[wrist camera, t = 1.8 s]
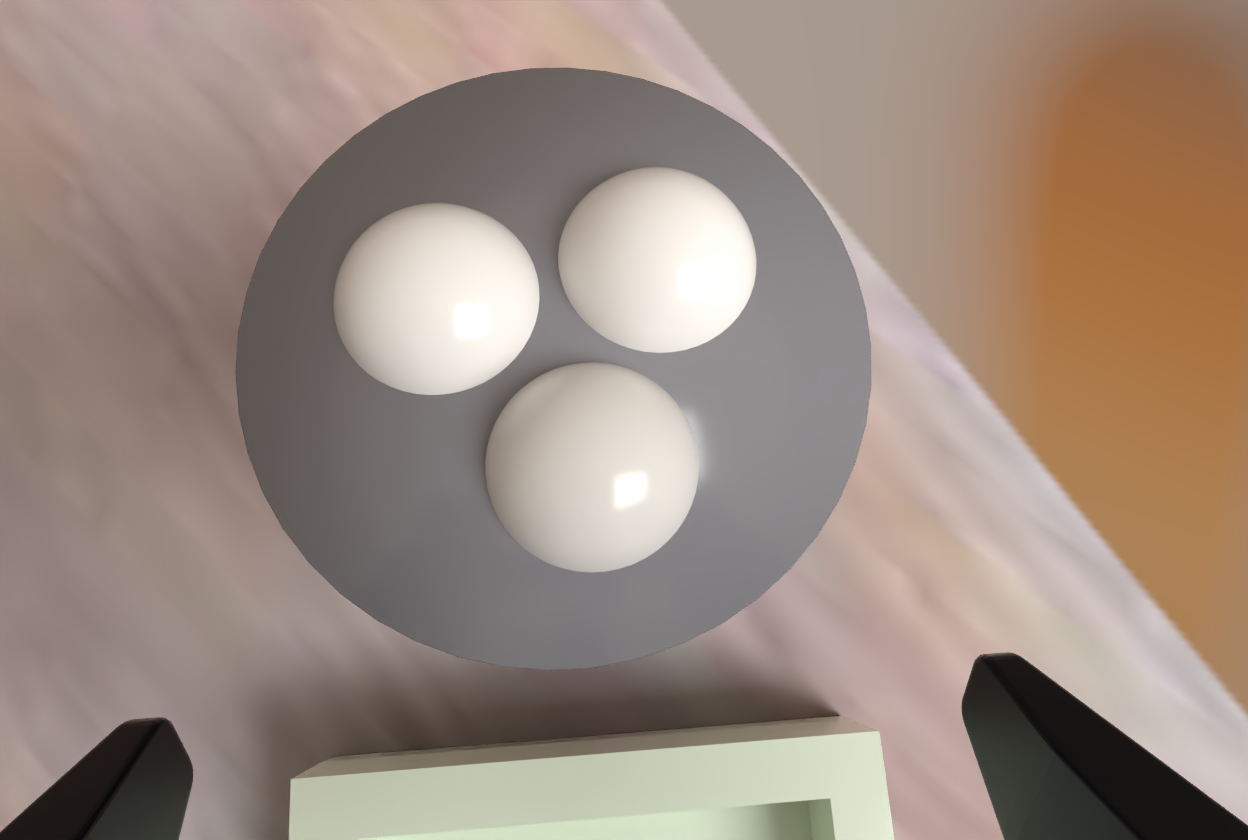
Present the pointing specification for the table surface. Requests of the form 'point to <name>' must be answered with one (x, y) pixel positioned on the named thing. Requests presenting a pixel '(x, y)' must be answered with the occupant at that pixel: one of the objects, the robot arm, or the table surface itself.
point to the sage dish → (611, 788)
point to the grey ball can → (553, 368)
